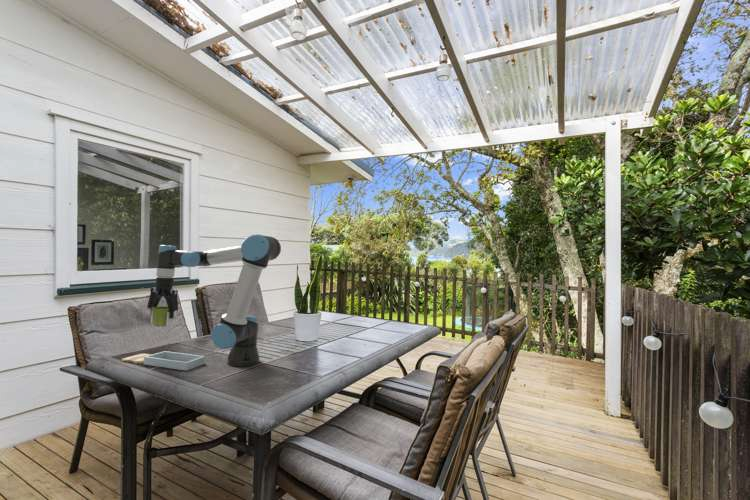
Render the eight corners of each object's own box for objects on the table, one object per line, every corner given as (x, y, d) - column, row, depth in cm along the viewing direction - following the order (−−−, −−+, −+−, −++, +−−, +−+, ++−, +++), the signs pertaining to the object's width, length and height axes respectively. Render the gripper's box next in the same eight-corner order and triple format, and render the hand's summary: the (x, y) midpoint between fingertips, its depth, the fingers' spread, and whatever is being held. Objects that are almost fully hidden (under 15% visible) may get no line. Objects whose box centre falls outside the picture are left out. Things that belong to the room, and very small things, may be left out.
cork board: (160, 357, 184) (161, 355, 184) (141, 363, 173) (141, 361, 173) (141, 355, 187) (142, 353, 187) (121, 361, 176) (121, 358, 176)
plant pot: (162, 328, 172) (163, 309, 172) (145, 326, 174) (146, 307, 174) (176, 325, 181) (178, 307, 182) (160, 323, 183) (161, 305, 184)
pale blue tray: (204, 363, 178) (205, 356, 178) (186, 370, 167) (187, 362, 167) (164, 358, 184) (164, 351, 184) (143, 364, 172) (144, 356, 172)
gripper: (189, 278, 179) (185, 325, 179) (153, 275, 185) (149, 320, 184) (177, 279, 172) (173, 327, 172) (140, 275, 177) (136, 322, 177)
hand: (161, 324), depth 178 cm, fingers closed on plant pot, 8 cm apart
